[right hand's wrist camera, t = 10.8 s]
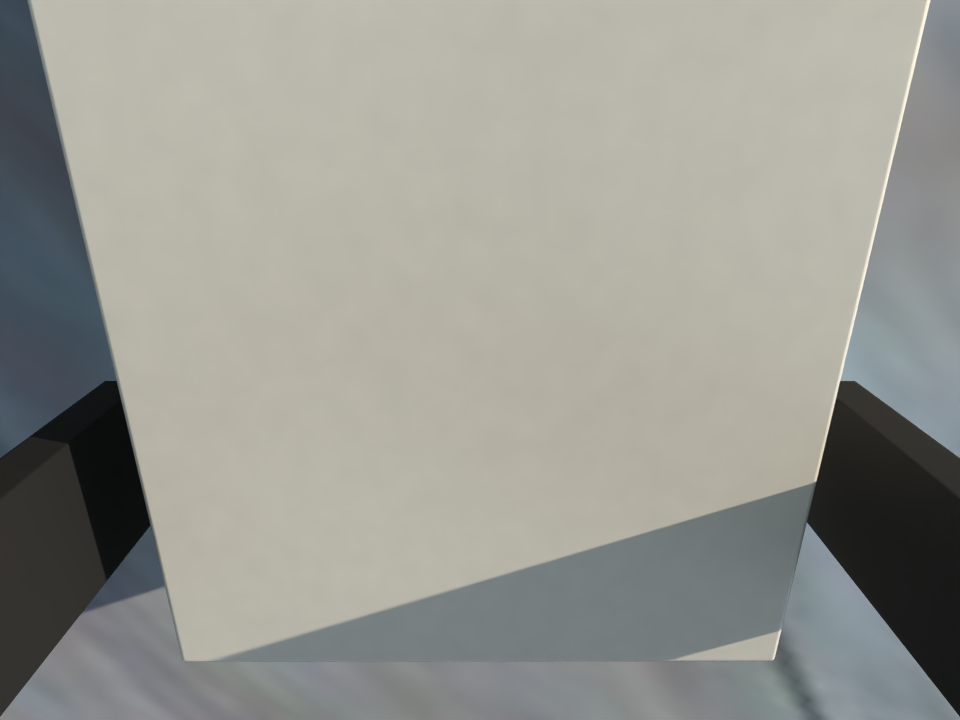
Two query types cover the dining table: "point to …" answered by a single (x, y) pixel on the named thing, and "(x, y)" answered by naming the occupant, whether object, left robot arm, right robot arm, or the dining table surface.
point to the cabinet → (478, 307)
